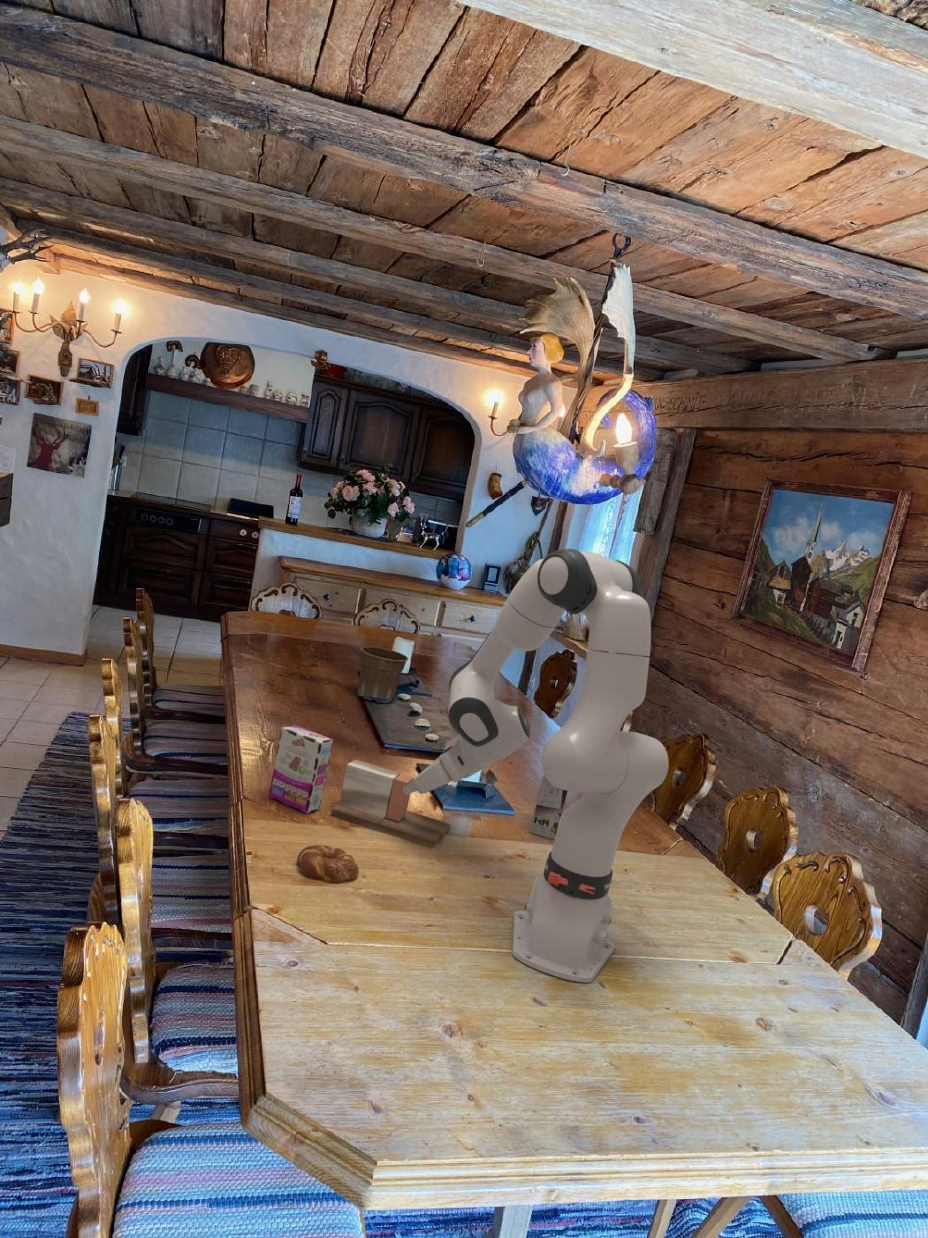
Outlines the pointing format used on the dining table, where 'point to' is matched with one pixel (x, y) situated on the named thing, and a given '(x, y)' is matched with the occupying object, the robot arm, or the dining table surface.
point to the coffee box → (548, 810)
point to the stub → (399, 798)
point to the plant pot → (380, 672)
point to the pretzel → (327, 863)
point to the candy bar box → (300, 768)
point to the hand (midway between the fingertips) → (412, 785)
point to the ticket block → (382, 806)
